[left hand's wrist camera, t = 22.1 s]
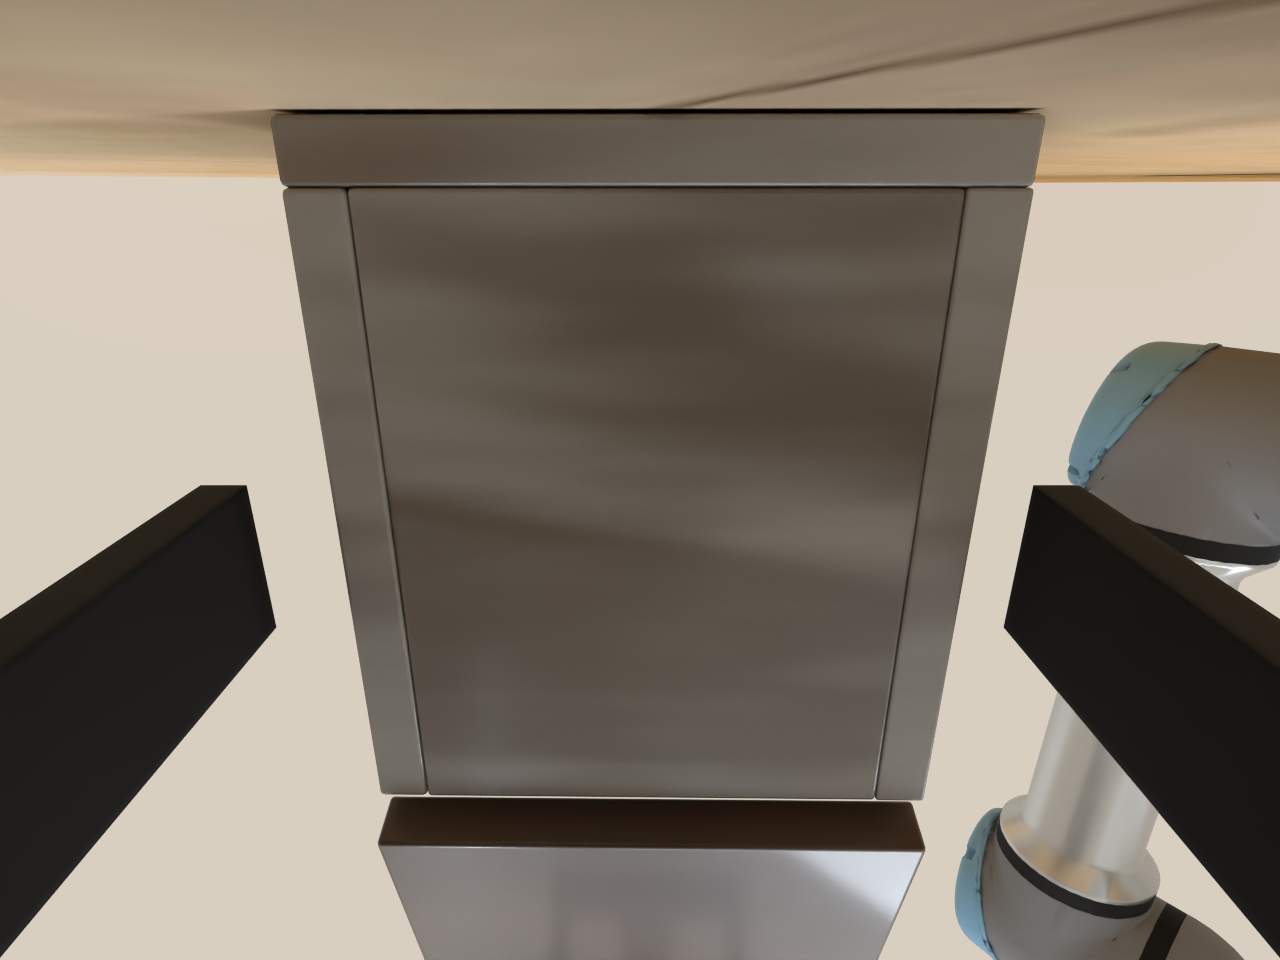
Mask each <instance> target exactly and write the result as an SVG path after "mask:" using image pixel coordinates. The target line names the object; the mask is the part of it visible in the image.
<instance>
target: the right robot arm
mask: <svg viewBox="0 0 1280 960" xmlns="http://www.w3.org/2000/svg"><path fill="white" fill-rule="evenodd" d="M1069 463H1070V465H1069V468H1068V478H1069V480H1070V482H1071V483H1072V484H1073V485H1080V486H1081V487H1083V488H1084V489H1086V490H1087V491H1090V493H1092V494H1093V495H1095V496H1096V497H1098V498H1099V499H1101V500H1102V501H1104V502H1105V503H1107V504H1108V505H1110V506H1111V507H1113V508H1114V509H1116V510H1117V511H1119V512H1120V513H1122V514H1123V515H1125V516H1126V517H1128V518H1129V519H1131V520H1132V521H1134V522H1135V523H1137V524H1138V525H1140V526H1141V527H1143V528H1144V529H1146V530H1147V531H1149V532H1150V533H1152V534H1153V535H1155V536H1156V537H1158V538H1159V539H1161V540H1162V541H1164V542H1165V543H1167V544H1168V545H1170V546H1171V547H1173V548H1174V549H1175V550H1177V551H1178V552H1180V553H1181V554H1183V555H1184V556H1186V557H1187V558H1189V559H1190V560H1192V561H1193V562H1195V563H1196V564H1198V565H1199V566H1201V567H1202V568H1204V569H1205V570H1207V571H1208V572H1210V573H1211V574H1213V575H1214V576H1216V577H1217V578H1219V579H1220V580H1222V581H1223V582H1225V583H1226V584H1228V585H1229V586H1231V587H1232V588H1234V589H1235V590H1238V587H1239V584H1240V582H1241V581H1242V580H1243V579H1244V578H1246V577H1248V576H1251V575H1253V574H1256V573H1259V572H1262V571H1264V570H1267V569H1270V568H1273V567H1274V566H1276V565H1277V564H1278V562H1279V560H1280V354H1279V353H1271V352H1263V351H1255V350H1246V349H1238V348H1230V347H1222V345H1221V344H1217V343H1209V344H1206V345H1198V344H1186V343H1175V342H1152V343H1147V344H1145V345H1142V346H1139V347H1138V348H1136V349H1134V350H1132V351H1131V352H1130V353H1128V354H1127V355H1126V356H1125V357H1124V358H1123V359H1121V360H1120V361H1119V362H1118V363H1117V365H1116V366H1115V367H1114V368H1113V370H1112V371H1111V372H1110V374H1109V375H1108V376H1107V377H1106V379H1105V380H1104V382H1103V383H1102V385H1101V386H1100V388H1099V389H1098V391H1097V392H1096V394H1095V396H1094V398H1093V399H1092V401H1091V403H1090V405H1089V407H1088V409H1087V411H1086V413H1085V415H1084V417H1083V419H1082V421H1081V424H1080V426H1079V428H1078V431H1077V433H1076V436H1075V439H1074V442H1073V445H1072V448H1071V451H1070V455H1069ZM1158 813H1159V812H1158V811H1157V810H1156V809H1155V808H1154V806H1153V805H1152V804H1151V803H1150V802H1149V800H1148V799H1147V798H1146V797H1145V796H1144V795H1143V793H1142V792H1141V791H1140V790H1139V789H1138V787H1137V786H1136V785H1135V784H1134V783H1133V781H1132V780H1131V779H1130V778H1129V777H1128V775H1127V774H1126V773H1125V772H1124V771H1123V769H1122V768H1121V767H1120V766H1119V765H1118V763H1117V762H1116V761H1115V760H1114V759H1113V757H1112V756H1111V755H1110V754H1109V753H1108V751H1107V750H1106V749H1105V748H1104V747H1103V745H1102V744H1101V743H1100V742H1099V741H1098V739H1097V738H1096V737H1095V736H1094V735H1093V733H1092V732H1091V731H1090V730H1089V729H1088V728H1087V726H1086V725H1085V724H1084V723H1083V722H1082V720H1081V719H1080V718H1079V717H1078V716H1077V714H1076V713H1075V712H1074V711H1073V710H1072V708H1071V707H1070V706H1069V705H1068V704H1067V702H1066V701H1065V700H1064V699H1063V698H1062V696H1061V695H1060V694H1059V693H1058V692H1057V695H1056V698H1055V702H1054V705H1053V709H1052V712H1051V716H1050V719H1049V723H1048V726H1047V730H1046V733H1045V736H1044V740H1043V744H1042V747H1041V750H1040V754H1039V757H1038V761H1037V764H1036V767H1035V771H1034V774H1033V778H1032V781H1031V785H1030V788H1029V792H1028V795H1022V796H1018V797H1015V798H1013V799H1011V800H1009V801H1008V802H1007V803H1006V804H1005V806H1004V807H1003V808H994V809H991V810H990V811H988V812H987V813H986V814H985V815H984V816H983V817H982V818H981V820H980V821H979V822H978V824H977V825H976V827H975V829H974V831H973V833H972V835H971V836H970V838H969V841H968V844H967V851H966V854H965V856H963V857H962V860H961V863H960V867H959V871H958V876H957V881H956V889H955V911H956V916H957V920H958V922H959V925H960V927H961V929H962V931H963V932H964V933H965V935H966V936H967V937H968V938H969V939H970V940H971V941H972V942H973V943H975V944H976V945H977V946H978V947H980V948H981V949H982V950H983V951H985V952H986V953H987V954H988V955H990V956H991V957H992V959H993V960H1244V959H1243V958H1242V957H1241V956H1240V955H1239V953H1238V952H1237V951H1236V950H1235V949H1234V948H1233V947H1232V946H1231V945H1229V944H1228V943H1227V942H1226V941H1225V940H1224V939H1223V938H1222V937H1220V936H1219V935H1218V934H1217V933H1215V932H1214V931H1213V930H1212V929H1210V928H1209V927H1207V926H1206V925H1204V924H1203V923H1201V922H1199V921H1198V920H1196V919H1195V918H1193V917H1191V916H1189V915H1187V914H1186V913H1184V912H1182V911H1181V910H1179V909H1177V908H1175V907H1174V906H1172V905H1170V904H1169V903H1167V902H1165V901H1163V900H1162V899H1160V898H1158V897H1157V896H1156V894H1157V891H1158V889H1159V885H1160V874H1159V871H1158V867H1157V865H1156V863H1155V861H1154V859H1153V858H1152V856H1151V855H1150V854H1149V852H1148V851H1147V849H1146V846H1147V844H1148V841H1149V838H1150V835H1151V832H1152V830H1153V827H1154V824H1155V821H1156V818H1157V815H1158Z"/></svg>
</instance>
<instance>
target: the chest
mask: <svg viewBox="0 0 1280 960" xmlns="http://www.w3.org/2000/svg"><path fill="white" fill-rule="evenodd" d="M1044 124H1045V117H1044V116H1043V115H1041V114H1039V113H731V114H276V115H274V116H272V117H271V127H272V133H273V139H274V145H275V151H276V157H277V163H278V169H279V175H280V180H281V182H282V184H283V185H284V186H286V187H289V188H287V189H285V190H284V191H283V199H284V205H285V212H286V218H287V224H288V230H289V236H290V242H291V248H292V254H293V260H294V266H295V272H296V278H297V284H298V290H299V297H300V303H301V309H302V315H303V321H304V327H305V333H306V339H307V345H308V351H309V357H310V363H311V369H312V375H313V382H314V388H315V394H316V400H317V406H318V412H319V418H320V424H321V430H322V436H323V442H324V448H325V455H326V461H327V467H328V473H329V478H330V485H331V491H332V497H333V503H334V509H335V515H336V521H337V527H338V533H339V540H340V546H341V552H342V558H343V564H344V570H345V576H346V582H347V588H348V594H349V600H350V606H351V612H352V618H353V625H354V631H355V637H356V643H357V649H358V655H359V661H360V667H361V673H362V679H363V685H364V691H365V697H366V704H367V710H368V716H369V722H370V728H371V734H372V740H373V746H374V752H375V758H376V764H377V770H378V776H379V783H380V789H381V792H382V793H383V794H406V795H423V794H426V793H427V791H428V792H429V794H430V795H472V796H576V797H679V798H784V799H873V798H874V796H875V798H876V799H877V800H923V797H924V792H925V786H926V780H927V775H928V770H929V764H930V759H931V753H932V747H933V742H934V736H935V731H936V725H937V720H938V714H939V709H940V703H941V698H942V692H943V687H944V681H945V676H946V670H947V665H948V659H949V654H950V648H951V643H952V637H953V632H954V626H955V621H956V615H957V610H958V604H959V599H960V593H961V588H962V582H963V577H964V571H965V566H966V560H967V555H968V549H969V544H970V538H971V533H972V527H973V522H974V516H975V511H976V505H977V499H978V494H979V489H980V483H981V478H982V472H983V466H984V461H985V456H986V450H987V445H988V439H989V434H990V428H991V423H992V417H993V412H994V406H995V400H996V395H997V389H998V384H999V378H1000V373H1001V367H1002V362H1003V356H1004V351H1005V345H1006V340H1007V334H1008V329H1009V323H1010V318H1011V312H1012V307H1013V301H1014V296H1015V290H1016V285H1017V279H1018V274H1019V268H1020V263H1021V257H1022V252H1023V246H1024V241H1025V235H1026V230H1027V224H1028V219H1029V213H1030V208H1031V202H1032V197H1033V189H1031V188H1026V187H1028V186H1031V185H1032V184H1033V182H1034V179H1035V173H1036V168H1037V162H1038V157H1039V151H1040V146H1041V140H1042V135H1043V129H1044Z"/></svg>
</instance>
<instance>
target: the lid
mask: <svg viewBox="0 0 1280 960" xmlns="http://www.w3.org/2000/svg"><path fill="white" fill-rule="evenodd" d="M378 846H379V848H380V851H381V853H382V856H383V858H384V861H385V863H386V866H387V868H388V871H389V873H390V875H391V878H392V880H393V883H394V885H395V888H396V890H397V893H398V895H399V898H400V900H401V902H402V905H403V907H404V910H405V912H406V915H407V917H408V920H409V922H410V925H411V927H412V930H413V932H414V934H415V937H416V939H417V942H418V944H419V947H420V949H421V952H422V954H423V957H424V959H425V960H878V958H879V955H880V953H881V951H882V949H883V946H884V944H885V942H886V939H887V937H888V935H889V933H890V930H891V928H892V926H893V923H894V921H895V919H896V916H897V914H898V912H899V910H900V907H901V905H902V903H903V900H904V898H905V896H906V894H907V891H908V889H909V887H910V884H911V882H912V880H913V877H914V875H915V873H916V871H917V868H918V866H919V864H920V861H921V859H922V857H923V855H924V852H925V845H924V842H923V839H922V835H921V832H920V829H919V825H918V822H917V819H916V816H915V812H914V809H913V806H912V804H911V803H910V802H896V801H793V800H689V799H586V798H585V799H584V798H482V797H393V798H392V799H391V801H390V804H389V807H388V811H387V814H386V817H385V821H384V824H383V827H382V830H381V834H380V837H379V840H378Z"/></svg>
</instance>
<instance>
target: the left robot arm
mask: <svg viewBox="0 0 1280 960" xmlns="http://www.w3.org/2000/svg"><path fill="white" fill-rule="evenodd" d="M275 628H276V624H275V619H274V614H273V609H272V604H271V600H270V595H269V590H268V586H267V581H266V576H265V571H264V566H263V562H262V557H261V552H260V547H259V542H258V538H257V533H256V528H255V523H254V519H253V514H252V509H251V504H250V500H249V495H248V490H247V486H246V485H200V486H199V487H198V488H196V489H194V490H193V491H191V492H190V493H188V494H187V495H185V496H184V497H183V498H181V499H179V500H178V501H176V502H175V503H173V504H172V505H170V506H169V507H167V508H166V509H164V510H163V511H162V512H160V513H158V514H157V515H156V516H154V517H152V518H151V519H149V520H148V521H146V522H145V523H143V524H142V525H140V526H139V527H138V528H136V529H134V530H133V531H131V532H130V533H128V534H127V535H125V536H124V537H122V538H121V539H120V540H118V541H116V542H115V543H113V544H112V545H111V546H109V547H107V548H106V549H104V550H103V551H102V552H100V553H99V554H97V555H96V556H94V557H93V558H91V559H90V560H88V561H87V562H85V563H84V564H82V565H81V566H79V567H78V568H76V569H75V570H73V571H72V572H70V573H69V574H67V575H66V576H64V577H63V578H61V579H60V580H58V581H57V582H55V583H54V584H52V585H51V586H49V587H48V588H46V589H45V590H43V591H42V592H40V593H39V594H37V595H36V596H34V597H33V598H31V599H30V600H28V601H27V602H25V603H24V604H22V605H21V606H19V607H18V608H16V609H15V610H13V611H12V612H10V613H9V614H7V615H6V616H4V617H3V618H1V619H0V957H1V956H2V955H3V954H4V952H5V951H6V950H7V949H8V948H9V946H10V945H11V944H12V943H13V942H14V940H15V939H16V938H17V937H18V936H19V934H20V933H21V932H22V931H23V930H24V928H25V927H26V926H27V925H28V924H29V923H30V921H31V920H32V919H33V918H34V917H35V915H36V914H37V913H38V912H39V911H40V909H41V908H42V907H43V906H44V905H45V903H46V902H47V901H48V900H49V899H50V897H51V896H52V895H53V894H54V893H55V891H56V890H57V889H58V888H59V887H60V885H61V884H62V883H63V882H64V881H65V879H66V878H67V877H68V876H69V875H70V873H71V872H72V871H73V870H74V869H75V867H76V866H77V865H78V864H79V863H80V861H81V860H82V859H83V858H84V857H85V855H86V854H87V853H88V852H89V851H90V850H91V848H92V847H93V846H94V845H95V844H96V842H97V841H98V840H99V839H100V838H101V836H102V835H103V834H104V833H105V832H106V830H107V829H108V828H109V827H110V826H111V824H112V823H113V822H114V821H115V820H116V818H117V817H118V816H119V815H120V814H121V812H122V811H123V810H124V809H125V808H126V806H127V805H128V804H129V803H130V802H131V800H132V799H133V798H134V797H135V796H136V795H137V793H138V792H139V791H140V790H141V789H142V787H143V786H144V785H145V784H146V783H147V781H148V780H149V779H150V778H151V777H152V775H153V774H154V773H155V772H156V771H157V769H158V768H159V767H160V766H161V765H162V763H163V762H164V761H165V760H166V759H167V757H168V756H169V755H170V754H171V753H172V751H173V750H174V749H175V748H176V747H177V745H178V744H179V743H180V742H181V741H182V739H183V738H184V737H185V736H186V735H187V733H188V732H189V731H190V730H191V729H192V728H193V726H194V725H195V724H196V723H197V722H198V720H199V719H200V718H201V717H202V715H203V714H204V713H205V712H206V711H207V710H208V708H209V707H210V706H211V705H212V704H213V702H214V701H215V700H216V699H217V698H218V696H219V695H220V694H221V693H222V692H223V690H224V689H225V688H226V687H227V686H228V684H229V683H230V682H231V681H232V680H233V678H234V677H235V676H236V675H237V674H238V672H239V671H240V670H241V669H242V668H243V666H244V665H245V664H246V663H247V662H248V660H249V659H250V658H251V657H252V656H253V655H254V653H255V652H256V651H257V650H258V648H259V647H260V646H261V645H262V644H263V643H264V641H265V640H266V639H267V638H268V637H269V635H270V634H271V633H272V632H273V631H274V629H275ZM1004 628H1005V629H1006V631H1007V632H1008V633H1009V634H1010V635H1011V637H1012V638H1013V639H1014V640H1015V641H1016V643H1017V644H1018V645H1019V646H1020V647H1021V649H1022V650H1023V651H1024V652H1025V653H1026V654H1027V656H1028V657H1029V658H1030V659H1031V660H1032V662H1033V663H1034V664H1035V665H1036V666H1037V668H1038V669H1039V670H1040V671H1041V672H1042V674H1043V675H1044V676H1045V677H1046V678H1047V680H1048V681H1049V682H1050V683H1051V684H1052V686H1053V687H1054V688H1055V689H1056V690H1057V692H1058V693H1059V694H1060V695H1061V696H1062V698H1063V699H1064V700H1065V701H1066V702H1067V704H1068V705H1069V706H1070V707H1071V708H1072V710H1073V711H1074V712H1075V713H1076V714H1077V716H1078V717H1079V718H1080V719H1081V720H1082V722H1083V723H1084V724H1085V725H1086V726H1087V728H1088V729H1089V730H1090V731H1091V732H1092V733H1093V735H1094V736H1095V737H1096V738H1097V739H1098V741H1099V742H1100V743H1101V744H1102V745H1103V747H1104V748H1105V749H1106V750H1107V751H1108V753H1109V754H1110V755H1111V756H1112V757H1113V759H1114V760H1115V761H1116V762H1117V763H1118V765H1119V766H1120V767H1121V768H1122V769H1123V771H1124V772H1125V773H1126V774H1127V775H1128V777H1129V778H1130V779H1131V780H1132V781H1133V783H1134V784H1135V785H1136V786H1137V787H1138V789H1139V790H1140V791H1141V792H1142V793H1143V795H1144V796H1145V797H1146V798H1147V799H1148V800H1149V802H1150V803H1151V804H1152V805H1153V806H1154V808H1155V809H1156V810H1157V811H1158V812H1159V814H1160V815H1161V816H1162V817H1163V818H1164V820H1165V821H1166V822H1167V823H1168V824H1169V826H1170V827H1171V828H1172V829H1173V830H1174V832H1175V833H1176V834H1177V835H1178V836H1179V838H1180V839H1181V840H1182V841H1183V842H1184V844H1185V845H1186V846H1187V847H1188V848H1189V849H1190V851H1191V852H1192V853H1193V854H1194V856H1195V857H1196V858H1197V859H1198V860H1199V861H1200V863H1201V864H1202V865H1203V866H1204V867H1205V869H1206V870H1207V871H1208V872H1209V873H1210V875H1211V876H1212V877H1213V878H1214V879H1215V881H1216V882H1217V883H1218V884H1219V885H1220V887H1221V888H1222V889H1223V890H1224V891H1225V893H1226V894H1227V895H1228V896H1229V897H1230V898H1231V900H1232V901H1233V902H1234V903H1235V904H1236V906H1237V907H1238V908H1239V909H1240V910H1241V912H1242V913H1243V914H1244V915H1245V917H1246V918H1247V919H1248V920H1249V921H1250V923H1251V924H1252V925H1253V926H1254V927H1255V928H1256V930H1257V931H1258V932H1259V933H1260V934H1261V936H1262V937H1263V938H1264V939H1265V940H1266V942H1267V943H1268V944H1269V945H1270V946H1271V948H1272V949H1273V950H1274V951H1275V952H1276V954H1277V955H1278V956H1279V957H1280V619H1279V618H1277V617H1276V616H1274V615H1273V614H1271V613H1270V612H1268V611H1267V610H1265V609H1264V608H1262V607H1261V606H1259V605H1258V604H1256V603H1255V602H1253V601H1252V600H1250V599H1249V598H1247V597H1246V596H1244V595H1243V594H1241V593H1240V592H1238V591H1237V590H1235V589H1234V588H1232V587H1231V586H1229V585H1228V584H1226V583H1225V582H1223V581H1222V580H1220V579H1219V578H1217V577H1216V576H1214V575H1213V574H1211V573H1210V572H1208V571H1207V570H1205V569H1204V568H1202V567H1201V566H1199V565H1198V564H1196V563H1195V562H1193V561H1192V560H1190V559H1189V558H1187V557H1186V556H1184V555H1183V554H1181V553H1180V552H1178V551H1177V550H1175V549H1174V548H1173V547H1171V546H1170V545H1168V544H1167V543H1165V542H1164V541H1162V540H1161V539H1159V538H1158V537H1156V536H1155V535H1153V534H1152V533H1150V532H1149V531H1147V530H1146V529H1144V528H1143V527H1141V526H1140V525H1138V524H1137V523H1135V522H1134V521H1132V520H1131V519H1129V518H1128V517H1126V516H1125V515H1123V514H1122V513H1120V512H1119V511H1117V510H1116V509H1114V508H1113V507H1111V506H1110V505H1108V504H1107V503H1105V502H1104V501H1102V500H1101V499H1099V498H1098V497H1096V496H1095V495H1093V494H1092V493H1090V492H1089V491H1087V490H1086V489H1084V488H1083V487H1081V486H1080V485H1034V486H1033V490H1032V495H1031V499H1030V504H1029V509H1028V514H1027V519H1026V523H1025V528H1024V533H1023V538H1022V542H1021V547H1020V552H1019V557H1018V562H1017V566H1016V571H1015V576H1014V581H1013V585H1012V590H1011V595H1010V600H1009V605H1008V609H1007V614H1006V619H1005V624H1004Z"/></svg>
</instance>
